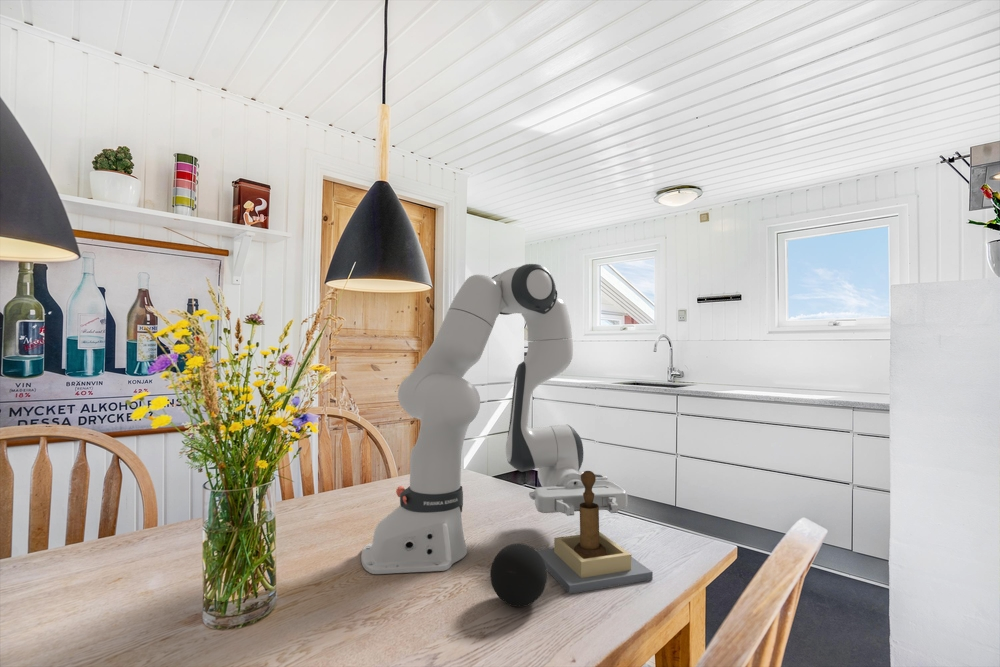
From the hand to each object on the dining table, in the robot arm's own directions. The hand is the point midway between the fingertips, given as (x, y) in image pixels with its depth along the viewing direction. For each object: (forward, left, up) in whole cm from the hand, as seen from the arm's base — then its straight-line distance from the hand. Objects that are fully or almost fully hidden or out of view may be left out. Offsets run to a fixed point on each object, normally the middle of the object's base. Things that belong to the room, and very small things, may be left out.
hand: (593, 510), depth 100 cm
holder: (0, +1, -12) cm, 12 cm away
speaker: (-19, -7, -12) cm, 24 cm away
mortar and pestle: (0, +1, -11) cm, 11 cm away
